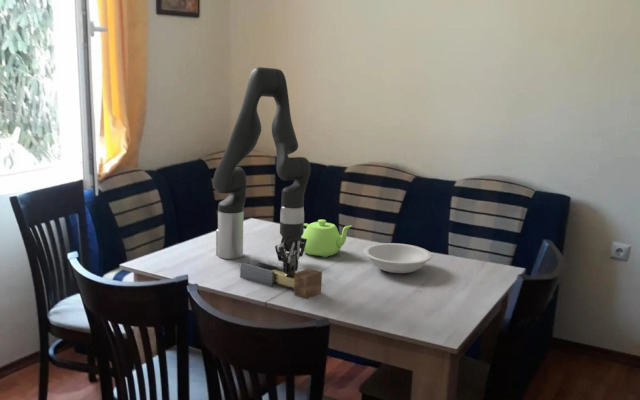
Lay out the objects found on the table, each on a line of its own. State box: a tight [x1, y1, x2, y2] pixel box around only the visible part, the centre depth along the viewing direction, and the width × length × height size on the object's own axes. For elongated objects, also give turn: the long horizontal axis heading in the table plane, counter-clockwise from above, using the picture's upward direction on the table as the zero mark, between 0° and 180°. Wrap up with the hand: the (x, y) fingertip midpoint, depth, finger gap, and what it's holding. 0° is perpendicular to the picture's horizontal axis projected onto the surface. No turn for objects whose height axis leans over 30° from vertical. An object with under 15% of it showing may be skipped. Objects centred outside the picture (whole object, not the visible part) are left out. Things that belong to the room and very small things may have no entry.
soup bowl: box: [364, 242, 433, 274], centre depth 228 cm, size 24×24×7 cm
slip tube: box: [271, 253, 296, 289], centre depth 206 cm, size 16×3×10 cm, turn 54°
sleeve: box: [239, 258, 283, 288], centre depth 213 cm, size 14×6×5 cm, turn 54°
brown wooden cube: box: [293, 267, 323, 300], centre depth 202 cm, size 6×7×7 cm
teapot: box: [302, 219, 352, 258], centre depth 244 cm, size 22×15×13 cm
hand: (290, 271), depth 206 cm, fingers closed on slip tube, 3 cm apart
